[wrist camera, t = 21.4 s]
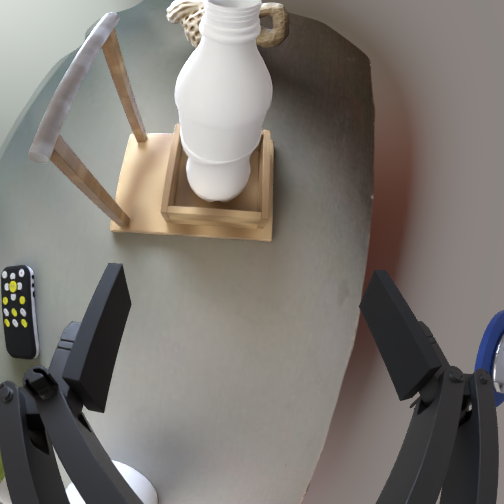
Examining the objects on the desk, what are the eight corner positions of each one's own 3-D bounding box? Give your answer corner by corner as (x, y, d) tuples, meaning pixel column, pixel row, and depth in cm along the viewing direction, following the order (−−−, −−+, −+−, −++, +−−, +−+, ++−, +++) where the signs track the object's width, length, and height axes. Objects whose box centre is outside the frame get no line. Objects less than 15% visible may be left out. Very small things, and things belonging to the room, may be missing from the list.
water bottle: (236, 216, 34) (285, 43, 9) (180, 199, 33) (138, 19, 9) (253, 166, 35) (310, -7, 11) (200, 150, 35) (199, -28, 10)
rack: (272, 141, 38) (319, 19, 17) (270, 245, 35) (347, 164, 14) (132, 134, 35) (90, 16, 14) (111, 235, 32) (11, 155, 12)
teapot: (154, 55, 39) (145, -11, 24) (185, 24, 41) (185, -34, 26) (268, 84, 40) (289, 12, 25) (287, 50, 42) (308, -11, 28)
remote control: (13, 356, 27) (5, 357, 25) (7, 268, 29) (-1, 266, 27) (42, 358, 28) (35, 360, 26) (35, 265, 30) (27, 263, 28)
